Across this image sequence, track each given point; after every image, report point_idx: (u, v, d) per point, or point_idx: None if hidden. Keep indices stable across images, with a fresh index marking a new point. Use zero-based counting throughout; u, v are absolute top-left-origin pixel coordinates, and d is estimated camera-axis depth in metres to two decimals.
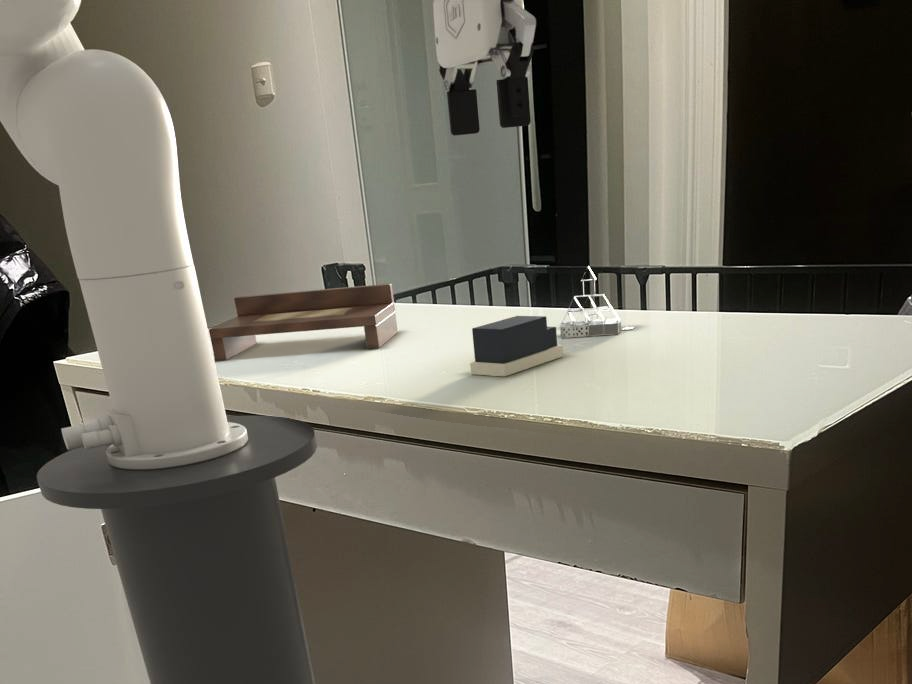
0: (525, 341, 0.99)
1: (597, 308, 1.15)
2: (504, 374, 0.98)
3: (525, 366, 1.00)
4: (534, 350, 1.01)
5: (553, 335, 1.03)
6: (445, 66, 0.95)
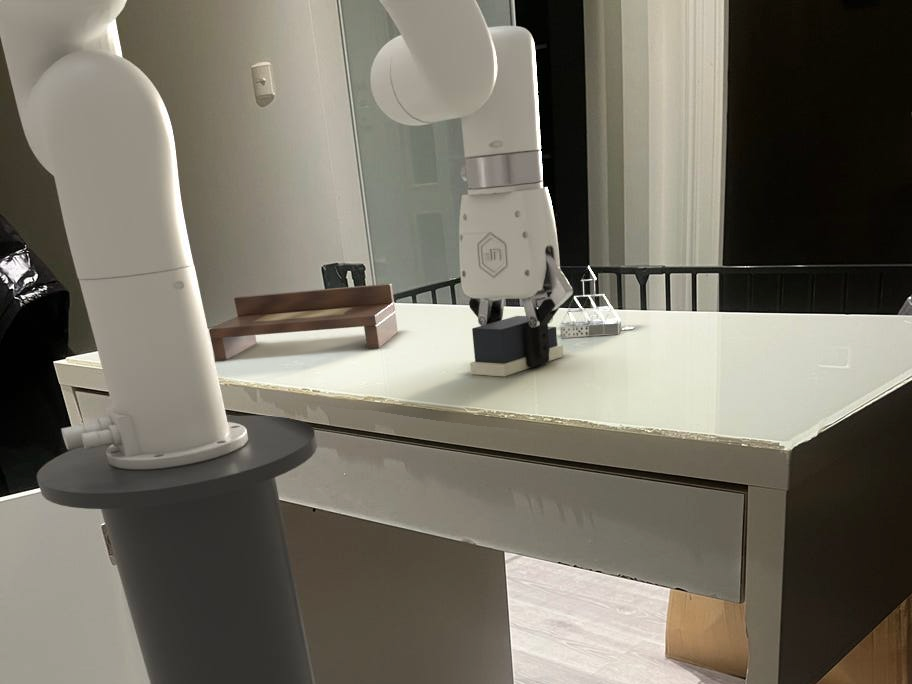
0: None
1: (597, 308, 1.15)
2: (504, 374, 0.98)
3: (525, 366, 1.00)
4: None
5: (553, 335, 1.03)
6: (473, 296, 0.99)
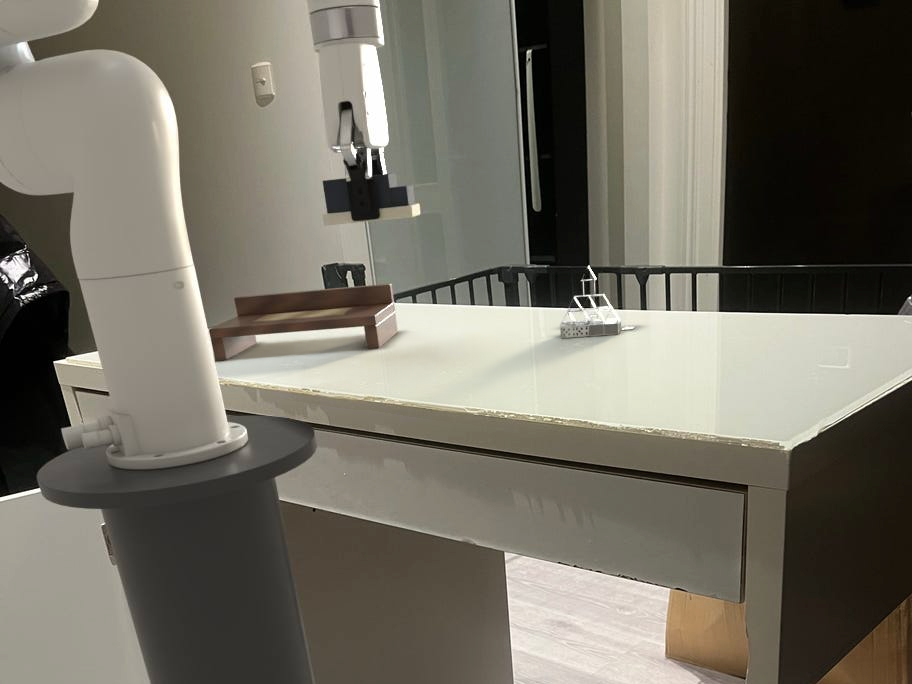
0: None
1: (597, 308, 1.15)
2: (324, 223, 1.09)
3: None
4: None
5: (402, 194, 1.07)
6: None
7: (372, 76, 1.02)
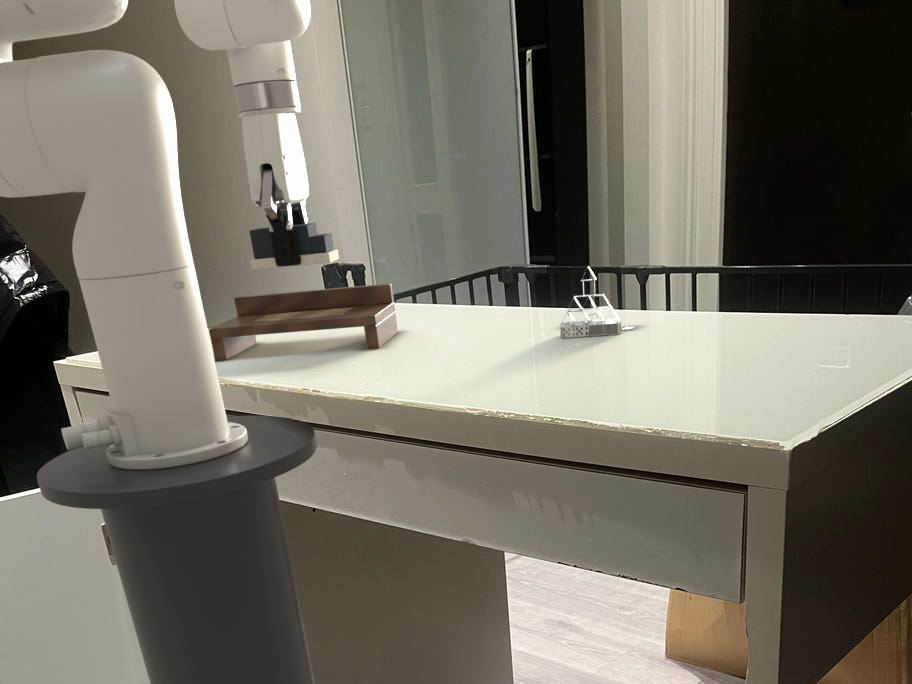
0: None
1: (597, 308, 1.15)
2: None
3: None
4: None
5: (320, 242, 1.20)
6: None
7: (291, 140, 1.16)
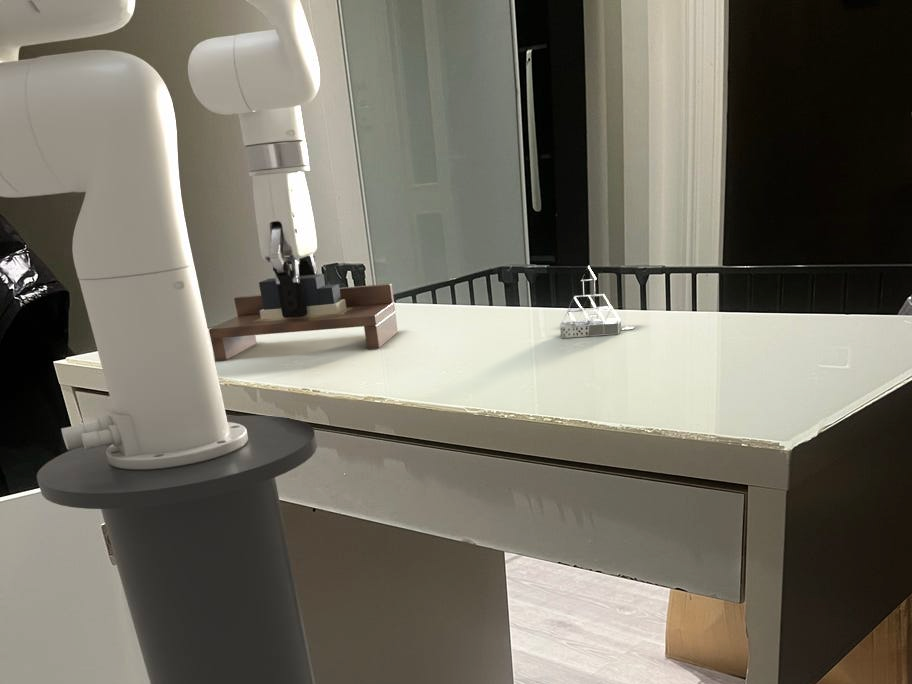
0: None
1: (597, 308, 1.15)
2: (261, 318, 1.25)
3: None
4: None
5: (328, 294, 1.23)
6: None
7: (300, 197, 1.18)
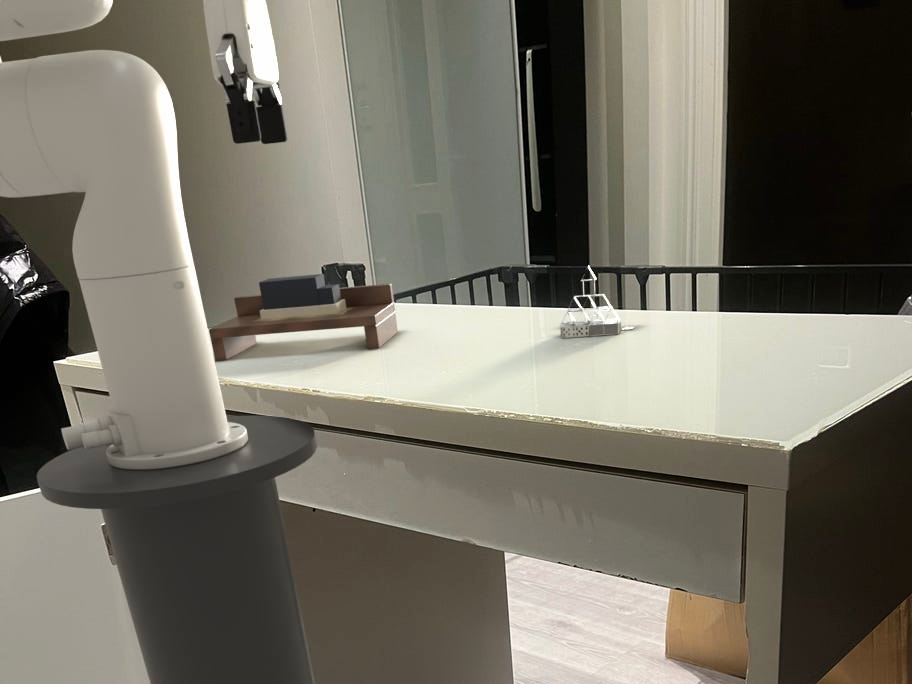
0: (288, 295, 1.23)
1: (597, 308, 1.15)
2: (261, 318, 1.25)
3: (286, 315, 1.24)
4: (300, 304, 1.24)
5: (328, 294, 1.23)
6: None
7: (256, 10, 1.05)
